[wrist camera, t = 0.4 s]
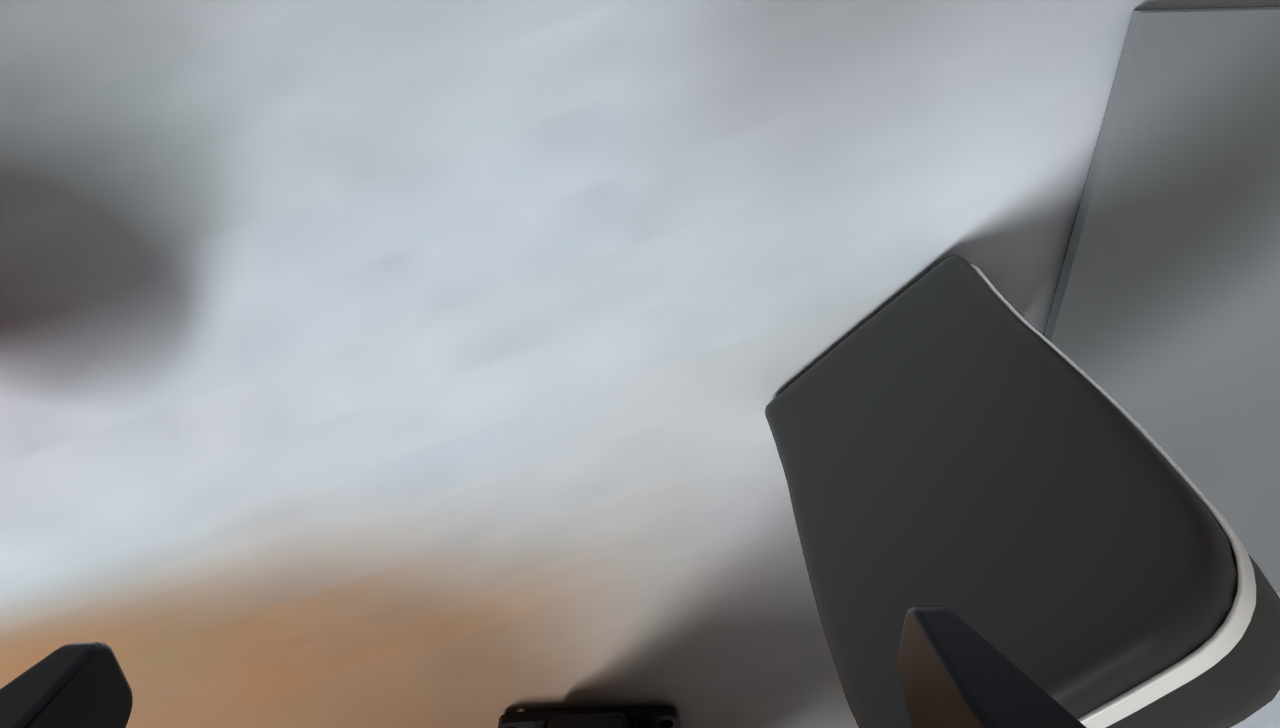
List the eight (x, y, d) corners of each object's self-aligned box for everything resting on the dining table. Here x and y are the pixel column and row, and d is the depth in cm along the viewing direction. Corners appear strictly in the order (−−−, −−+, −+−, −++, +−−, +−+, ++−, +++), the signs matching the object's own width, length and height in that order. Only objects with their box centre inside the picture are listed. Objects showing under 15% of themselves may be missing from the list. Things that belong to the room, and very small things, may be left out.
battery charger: (835, 478, 24) (994, 890, 14) (751, 407, 23) (862, 810, 13) (1038, 327, 22) (1396, 699, 12) (957, 236, 20) (1289, 574, 10)
